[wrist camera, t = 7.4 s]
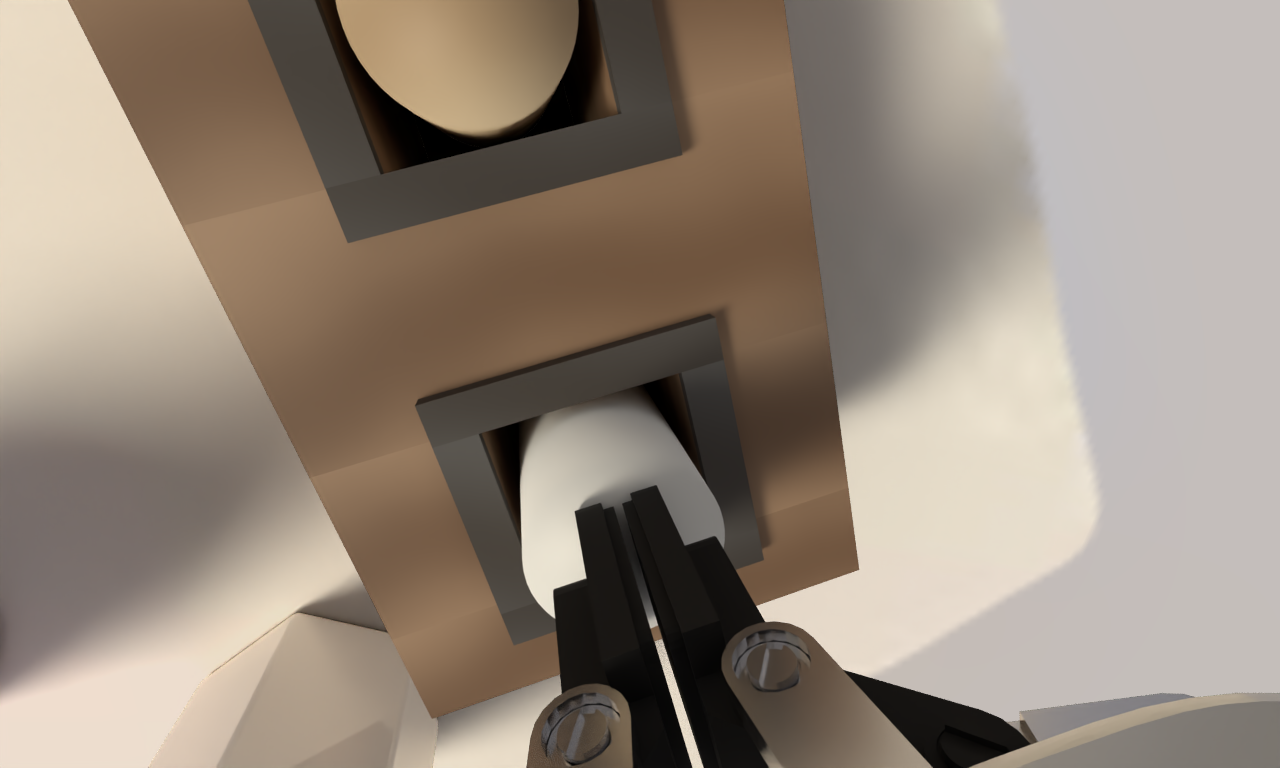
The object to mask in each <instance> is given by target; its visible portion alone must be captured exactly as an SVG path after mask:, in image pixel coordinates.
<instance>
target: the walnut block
mask: <svg viewBox="0 0 1280 768" xmlns="http://www.w3.org/2000/svg"><path fill="white" fill-rule="evenodd" d="M68 2H69V4H70V6H71V8H72V9H73V11H74V13H75V15H76V17H77V19H78V21H79V23H80V25H81V27H82V29H83V31H84V33H85V35H86V37H87V39H88V41H89V43H90V45H91V47H92V49H93V51H94V53H95V55H96V57H97V59H98V61H99V63H100V65H101V67H102V69H103V71H104V73H105V75H106V77H107V79H108V81H109V83H110V85H111V86H112V88H113V90H114V92H115V94H116V96H117V98H118V100H119V102H120V104H121V106H122V108H123V110H124V112H125V114H126V116H127V118H128V120H129V122H130V124H131V126H132V128H133V130H134V132H135V134H136V136H137V138H138V140H139V142H140V144H141V146H142V148H143V150H144V152H145V154H146V156H147V158H148V160H149V162H150V164H151V165H152V167H153V169H154V171H155V173H156V175H157V177H158V179H159V181H160V183H161V185H162V187H163V189H164V191H165V193H166V195H167V197H168V199H169V201H170V203H171V205H172V207H173V209H174V211H175V213H176V215H177V217H178V219H179V221H180V223H181V225H182V227H183V229H184V231H185V233H186V235H187V237H188V239H189V241H190V243H191V244H192V246H193V248H194V250H195V252H196V254H197V256H198V258H199V260H200V262H201V264H202V266H203V268H204V270H205V272H206V274H207V276H208V278H209V280H210V282H211V284H212V286H213V288H214V290H215V292H216V294H217V296H218V298H219V300H220V302H221V304H222V306H223V308H224V310H225V312H226V314H227V316H228V318H229V320H230V321H231V323H232V325H233V327H234V329H235V331H236V333H237V335H238V337H239V339H240V341H241V343H242V345H243V347H244V349H245V351H246V353H247V355H248V357H249V359H250V361H251V363H252V365H253V367H254V369H255V371H256V373H257V375H258V377H259V379H260V381H261V383H262V385H263V387H264V389H265V391H266V393H267V395H268V397H269V399H270V400H271V402H272V404H273V406H274V408H275V410H276V412H277V414H278V416H279V418H280V420H281V422H282V424H283V426H284V428H285V430H286V432H287V434H288V436H289V438H290V440H291V442H292V444H293V446H294V448H295V450H296V452H297V454H298V456H299V458H300V460H301V462H302V464H303V466H304V468H305V470H306V472H307V474H308V476H309V478H310V479H311V481H312V483H313V485H314V487H315V489H316V491H317V493H318V495H319V497H320V499H321V501H322V503H323V505H324V507H325V509H326V511H327V513H328V515H329V517H330V519H331V521H332V523H333V525H334V527H335V529H336V531H337V533H338V535H339V537H340V539H341V541H342V543H343V545H344V547H345V549H346V551H347V553H348V555H349V556H350V558H351V560H352V562H353V564H354V566H355V568H356V570H357V572H358V574H359V576H360V578H361V580H362V582H363V584H364V586H365V588H366V590H367V592H368V594H369V596H370V598H371V600H372V602H373V604H374V606H375V608H376V610H377V612H378V614H379V616H380V618H381V620H382V622H383V624H384V626H385V628H386V630H387V632H388V634H389V635H390V637H391V639H392V641H393V643H394V645H395V647H396V649H397V651H398V653H399V655H400V657H401V659H402V661H403V663H404V665H405V667H406V669H407V671H408V673H409V675H410V677H411V679H412V681H413V683H414V685H415V687H416V689H417V691H418V693H419V695H420V697H421V699H422V701H423V703H424V705H425V707H426V709H427V711H428V712H429V714H430V716H431V718H432V719H434V718H436V717H439V716H442V715H445V714H448V713H451V712H454V711H456V710H459V709H462V708H465V707H468V706H471V705H474V704H476V703H479V702H482V701H485V700H488V699H491V698H494V697H497V696H499V695H502V694H505V693H508V692H511V691H514V690H517V689H519V688H522V687H525V686H528V685H531V684H534V683H537V682H539V681H542V680H545V679H548V678H551V677H554V676H557V675H559V674H560V667H559V656H558V645H557V634H556V623H555V618H553V617H552V616H551V615H550V614H548V613H547V612H546V611H545V610H544V609H543V608H542V607H541V606H540V605H539V604H538V602H537V601H536V599H535V598H534V596H533V595H532V593H531V591H530V589H529V587H528V585H527V582H526V579H525V575H524V571H523V563H522V534H521V497H520V461H519V424H518V422H520V421H523V420H526V419H530V418H533V417H536V416H540V415H543V414H546V413H549V412H553V411H556V410H559V409H563V408H566V407H569V406H573V405H576V404H579V403H582V402H586V401H589V400H592V399H596V398H599V397H602V396H606V395H609V394H612V393H616V392H619V391H622V390H625V389H629V388H632V387H635V386H639V385H642V384H643V385H644V387H645V388H646V390H647V392H648V393H649V395H650V396H651V398H652V399H653V401H654V403H655V404H656V406H657V407H658V409H659V411H660V412H661V414H662V415H663V417H664V418H665V420H666V422H667V423H668V425H669V426H670V428H671V429H672V431H673V433H674V434H675V436H676V437H677V439H678V440H679V442H680V444H681V445H682V447H683V448H684V450H685V452H686V453H687V455H688V456H689V458H690V459H691V461H692V463H693V464H694V466H695V467H696V469H697V470H698V472H699V474H700V475H701V477H702V478H703V480H704V481H705V483H706V485H707V486H708V488H709V489H710V491H711V492H712V494H713V496H714V497H715V499H716V501H717V503H718V505H719V507H720V510H721V513H722V517H723V521H724V528H725V542H724V551H725V552H726V554H727V556H728V558H729V559H730V561H731V563H732V565H733V566H734V568H735V570H736V572H737V573H738V575H739V577H740V579H741V580H742V582H743V584H744V586H745V587H746V589H747V591H748V593H749V594H750V596H751V598H752V600H753V602H754V603H755V605H756V606H757V605H760V604H763V603H765V602H768V601H771V600H774V599H777V598H780V597H783V596H785V595H788V594H791V593H794V592H797V591H800V590H803V589H805V588H808V587H811V586H814V585H817V584H820V583H823V582H825V581H828V580H831V579H834V578H837V577H840V576H843V575H846V574H848V573H851V572H854V571H857V570H859V565H858V557H857V550H856V542H855V535H854V527H853V520H852V512H851V504H850V497H849V489H848V482H847V474H846V467H845V459H844V452H843V444H842V436H841V429H840V421H839V414H838V406H837V399H836V391H835V384H834V376H833V368H832V361H831V353H830V346H829V338H828V331H827V323H826V316H825V308H824V300H823V293H822V285H821V278H820V270H819V263H818V255H817V247H816V240H815V232H814V225H813V217H812V210H811V202H810V195H809V187H808V179H807V172H806V164H805V157H804V149H803V142H802V134H801V127H800V119H799V111H798V104H797V96H796V89H795V81H794V74H793V66H792V59H791V51H790V43H789V36H788V28H787V21H786V13H785V6H784V0H578V7H579V14H578V29H577V35H576V41H575V45H574V49H573V52H572V56H571V59H570V61H569V63H568V66H567V68H566V70H565V72H564V74H563V76H562V82H563V86H564V90H565V94H566V97H567V101H568V105H569V109H570V113H571V117H572V121H573V124H574V126H571V127H567V128H563V129H559V130H555V131H551V132H547V133H543V134H539V135H535V136H531V137H527V138H523V139H519V140H515V141H511V142H507V143H503V144H499V145H496V146H492V147H488V148H484V149H480V150H476V151H472V152H468V153H464V154H460V155H456V156H452V157H448V158H444V159H440V160H436V161H432V162H430V160H429V157H428V155H427V152H426V149H425V146H424V143H423V140H422V137H421V134H420V131H419V129H418V126H417V123H416V120H415V117H414V114H413V112H411V111H410V110H408V109H407V108H406V107H404V106H403V105H401V104H400V103H398V102H397V101H395V100H394V99H393V98H392V97H391V96H390V95H388V94H387V93H386V92H385V91H384V90H383V89H382V88H381V87H380V86H379V85H378V84H377V83H376V82H375V81H374V80H373V78H372V77H371V76H370V75H369V74H368V72H367V71H366V69H365V68H364V67H363V65H362V64H361V63H360V61H359V60H358V58H357V56H356V54H355V53H354V51H353V49H352V47H351V46H350V43H349V41H348V39H347V36H346V34H345V32H344V30H343V27H342V24H341V20H340V17H339V14H338V10H337V5H336V0H68ZM650 629H651V632H652V635H653V639H654V641H657V640H660V639H662V636H661V633H660V630H659V627H658V626H655V627H653V628H650Z"/></svg>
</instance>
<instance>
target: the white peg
mask: <svg viewBox="0 0 1280 768" xmlns="http://www.w3.org/2000/svg"><path fill="white" fill-rule="evenodd" d="M518 424H519V461H520V497H521V534H522V563H523V571H524V575H525V579H526V582H527V585H528V587H529V589H530V591H531V593H532V595H533V596H534V598H535V599H536V601H537V602H538V604H539V605H540V606H541V607H542V608H543V609H544V610H545V611H546V612H547V613H548V614H550V615H551V616H552V617H553V618H555V612H554V601H553V590H554V589H556V588H559V587H562V586H565V585H568V584H571V583H574V582H577V581H580V580H583V579H586V573H585V568H584V562H583V557H582V551H581V545H580V540H579V534H578V529H577V523H576V517H575V511H576V510H579V509H582V508H585V507H588V506H592V505H595V504H598V503H601V504H602V507H603V509H606V508H609V507H613V506H614V510H615V513H616V516H617V519H618V523H619V526H620V529H621V533H622V536H623V539H624V543H625V546H626V549H627V553H628V556H629V559H630V562H631V566H632V569H633V572H634V576H635V579H636V582H637V586H638V589H639V592H640V596H641V599H642V602H643V605H644V609H645V612H646V615H647V619H648V622H649V625H650V628H653V627H655V626H658V624H657V620H656V617H655V614H654V611H653V607H652V604H651V600H650V597H649V594H648V590H647V587H646V583H645V580H644V577H643V573H642V570H641V566H640V563H639V560H638V556H637V553H636V549H635V546H634V543H633V539H632V536H631V533H630V529H629V526H628V522H627V519H626V516H625V512H624V509H623V505H622V503H625V502H628V501H631V500H632V499H631V495H630V493H632V492H635V491H638V490H642V489H645V488H648V487H651V486H654V485H657V487H658V489H659V491H660V493H661V496H662V498H663V500H664V502H665V504H666V506H667V508H668V511H669V513H670V515H671V517H672V519H673V521H674V523H675V526H676V528H677V530H678V532H679V534H680V536H681V538H682V541H683V543H684V545H688V544H691V543H694V542H697V541H700V540H703V539H706V538H709V537H712V536H716V537H717V539H718V540H719V542H720V543H721V545H722V547H723V549H724V542H725V528H724V521H723V517H722V513H721V510H720V507H719V505H718V503H717V501H716V499H715V497H714V496H713V494H712V492H711V491H710V489H709V488H708V486H707V485H706V483H705V481H704V480H703V478H702V477H701V475H700V474H699V472H698V470H697V469H696V467H695V466H694V464H693V463H692V461H691V459H690V458H689V456H688V455H687V453H686V452H685V450H684V448H683V447H682V445H681V444H680V442H679V440H678V439H677V437H676V436H675V434H674V433H673V431H672V429H671V428H670V426H669V425H668V423H667V422H666V420H665V418H664V417H663V415H662V414H661V412H660V411H659V409H658V407H657V406H656V404H655V403H654V401H653V399H652V398H651V396H650V395H649V393H648V392H647V390H646V388H645V387H644V385H643V384H642V385H639V386H635V387H632V388H629V389H625V390H622V391H619V392H616V393H612V394H609V395H606V396H602V397H599V398H596V399H592V400H589V401H586V402H582V403H579V404H576V405H573V406H569V407H566V408H563V409H559V410H556V411H553V412H549V413H546V414H543V415H540V416H536V417H533V418H530V419H526V420H523V421H520V422H518Z"/></svg>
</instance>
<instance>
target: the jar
mask: <svg viewBox="0 0 1280 768" xmlns="http://www.w3.org/2000/svg"><path fill="white" fill-rule="evenodd" d="M437 732H438V721H437V717H436V718H434V719H432V718H431V716H430V714H429V712H428V711H427V709H426V707H425V705H424V703H423V701H422V699H421V697H420V695H419V693H418V691H417V689H416V687H415V685H414V683H413V681H412V679H411V677H410V675H409V673H408V671H407V669H406V667H405V665H404V663H403V661H402V659H401V657H400V655H399V653H398V651H397V649H396V647H395V645H394V643H393V641H392V639H391V637H390V635H389V634H388V632H383V631H379V630H374V629H370V628H365V627H361V626H356V625H352V624H348V623H343V622H339V621H334V620H330V619H325V618H321V617H316V616H312V615H307V614H303V613H296V614H293V615H292V616H290V617H289V618H288V619H286V620H285V621H284V622H282V623H281V624H279V625H278V626H277V627H275V628H274V629H272V630H271V631H270V632H268V633H267V634H266V635H264V636H263V637H261V638H260V639H259V640H257V641H256V642H255V643H253V644H252V645H250V646H249V647H248V648H246V649H245V650H243V651H242V652H241V653H239V654H238V655H237V656H235V657H234V658H232V659H231V660H230V661H228V662H227V663H226V664H224V665H223V666H221V667H220V668H219V669H217V670H216V671H214V672H213V673H212V674H210V675H209V676H208V677H206V678H205V679H203V680H202V681H201V682H200V684H199V685H198V687H197V689H196V690H195V692H194V693H193V695H192V697H191V698H190V700H189V702H188V703H187V705H186V706H185V708H184V710H183V711H182V713H181V715H180V716H179V718H178V719H177V721H176V723H175V724H174V726H173V728H172V729H171V731H170V732H169V734H168V736H167V737H166V739H165V740H164V742H163V744H162V745H161V747H160V749H159V750H158V752H157V753H156V755H155V757H154V758H153V760H152V762H151V763H150V765H149V766H148V768H433V762H434V755H435V747H436V740H437Z"/></svg>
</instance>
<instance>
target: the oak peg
mask: <svg viewBox="0 0 1280 768" xmlns="http://www.w3.org/2000/svg"><path fill="white" fill-rule="evenodd" d="M336 5H337V10H338V14H339V17H340V20H341V24H342V27H343V30H344V32H345V34H346V36H347V39H348V41H349V43H350V46H351V47H352V49H353V51H354V53H355V54H356V56H357V58H358V60H359V61H360V63H361V64H362V65H363V67H364V68H365V69H366V71H367V72H368V74H369V75H370V76H371V77H372V78H373V80H374V81H375V82H376V83H377V84H378V85H379V86H380V87H381V88H382V89H383V90H384V91H385V92H386V93H387V94H388V95H390V96H391V97H392V98H393V99H394V100H395V101H397V102H398V103H400V104H401V105H403V106H404V107H406V108H407V109H408V110H410V111H411V112H413V113H414V114H416V115H417V116H419V117H421V118H422V119H424V120H425V121H427V122H428V123H430V124H431V125H433V126H434V127H436V128H437V129H439V130H440V131H442V132H443V133H445V134H446V135H448V136H449V137H451V138H453V139H455V140H457V141H459V142H461V143H464V144H466V145H470V146H474V147H481V148H488V147H492V146H496V145H499V144H503V143H507V142H511V141H515V140H519V139H521V138H523V137H524V136H526V135H527V134H528V133H529V132H530V131H531V130H532V129H533V128H534V127H535V126H536V125H537V123H538V122H539V121H540V119H541V118H542V116H543V114H544V112H545V110H546V108H547V106H548V104H549V102H550V100H551V98H552V96H553V94H554V92H555V90H556V88H557V86H558V84H559V82H560V80H561V78H562V76H563V74H564V72H565V70H566V68H567V66H568V63H569V61H570V59H571V56H572V52H573V49H574V45H575V41H576V35H577V29H578V14H579V7H578V0H336Z"/></svg>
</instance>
